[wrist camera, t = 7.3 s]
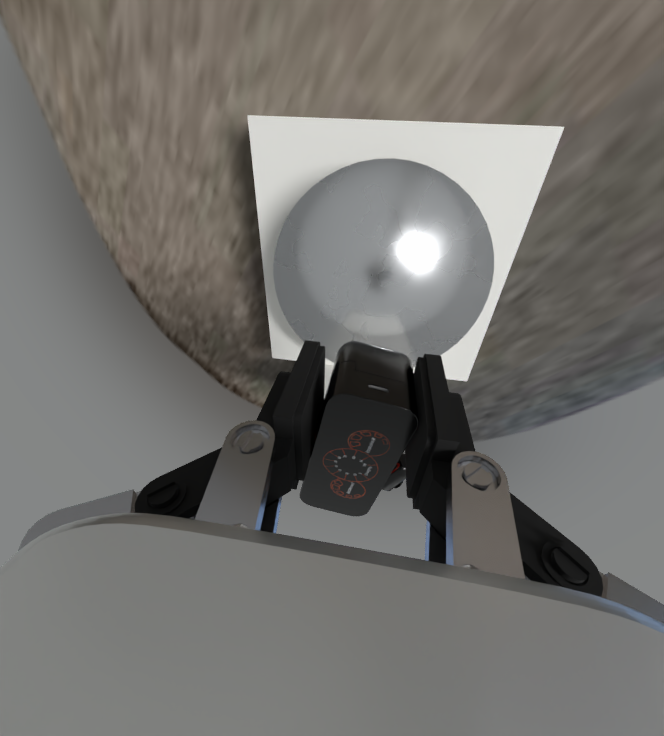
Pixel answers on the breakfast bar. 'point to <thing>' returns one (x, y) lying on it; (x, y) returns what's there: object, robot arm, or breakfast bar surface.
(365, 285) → the kitchen scale
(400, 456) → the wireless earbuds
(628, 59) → the breakfast bar surface
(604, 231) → the breakfast bar surface
